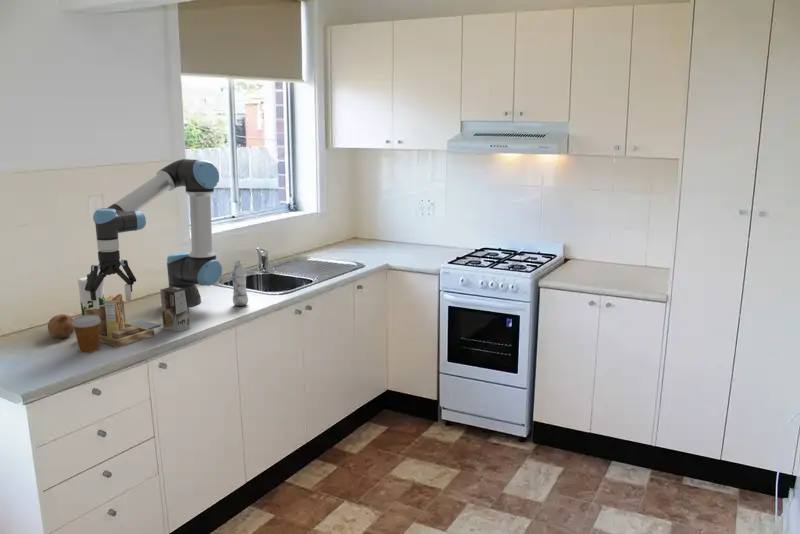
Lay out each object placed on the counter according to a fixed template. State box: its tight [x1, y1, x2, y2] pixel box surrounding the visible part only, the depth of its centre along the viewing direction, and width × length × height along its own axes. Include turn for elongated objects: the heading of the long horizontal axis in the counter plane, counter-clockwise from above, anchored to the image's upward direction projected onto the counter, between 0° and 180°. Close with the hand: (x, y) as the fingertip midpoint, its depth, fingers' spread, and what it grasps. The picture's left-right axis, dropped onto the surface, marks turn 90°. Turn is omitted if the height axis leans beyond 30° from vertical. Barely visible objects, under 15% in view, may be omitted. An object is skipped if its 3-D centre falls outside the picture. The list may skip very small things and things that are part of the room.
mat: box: [130, 319, 161, 329], centre depth 275 cm, size 8×12×1 cm, turn 56°
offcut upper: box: [112, 326, 139, 339], centre depth 258 cm, size 9×4×2 cm, turn 148°
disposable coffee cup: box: [72, 315, 101, 353], centre depth 246 cm, size 10×10×12 cm
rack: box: [84, 300, 155, 348], centre depth 261 cm, size 16×20×11 cm
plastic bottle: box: [231, 260, 249, 307], centre depth 302 cm, size 6×7×20 cm
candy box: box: [104, 293, 124, 338], centre depth 262 cm, size 9×4×15 cm, turn 6°
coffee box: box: [160, 286, 191, 332], centre depth 271 cm, size 9×6×16 cm
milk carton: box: [77, 273, 106, 316], centre depth 280 cm, size 9×9×20 cm
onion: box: [47, 313, 75, 339], centre depth 261 cm, size 10×9×10 cm
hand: (112, 304), depth 261 cm, fingers open, 13 cm apart
